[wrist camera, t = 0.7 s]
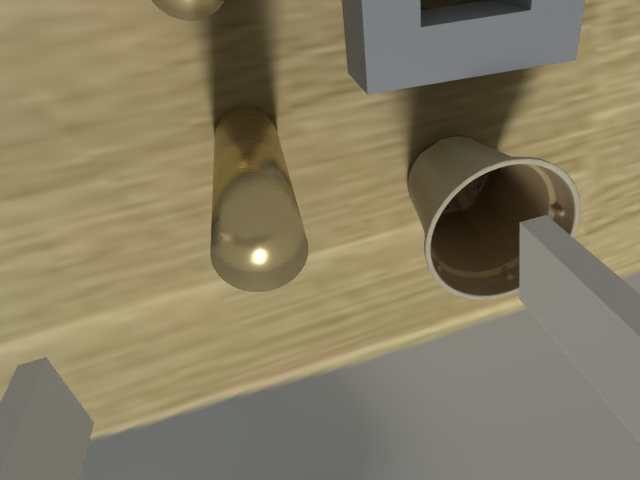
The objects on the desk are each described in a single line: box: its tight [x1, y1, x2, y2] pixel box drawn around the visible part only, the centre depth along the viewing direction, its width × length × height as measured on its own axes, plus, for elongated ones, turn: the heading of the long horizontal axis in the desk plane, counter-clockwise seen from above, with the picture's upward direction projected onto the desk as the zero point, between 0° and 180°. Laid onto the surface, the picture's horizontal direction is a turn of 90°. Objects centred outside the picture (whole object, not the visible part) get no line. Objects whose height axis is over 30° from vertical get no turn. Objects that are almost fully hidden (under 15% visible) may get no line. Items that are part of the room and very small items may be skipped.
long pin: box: [211, 106, 308, 292], centre depth 27 cm, size 4×4×14 cm
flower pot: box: [408, 137, 580, 300], centre depth 33 cm, size 9×9×9 cm
